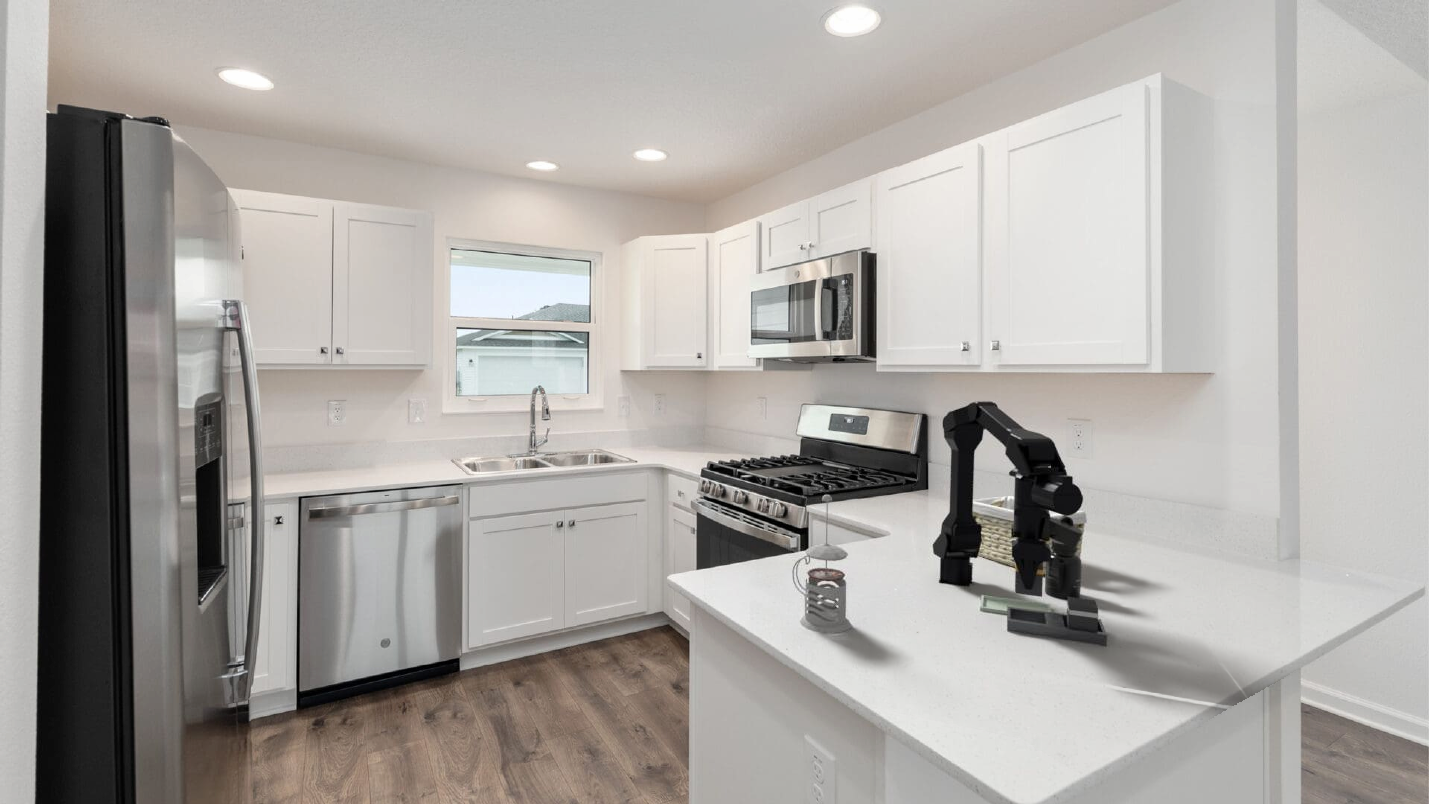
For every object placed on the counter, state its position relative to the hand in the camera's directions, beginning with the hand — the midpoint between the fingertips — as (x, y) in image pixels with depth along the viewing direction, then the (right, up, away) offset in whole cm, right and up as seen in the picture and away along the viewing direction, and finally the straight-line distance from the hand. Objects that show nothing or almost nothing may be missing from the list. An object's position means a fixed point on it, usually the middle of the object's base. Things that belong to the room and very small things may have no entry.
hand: (1028, 585), depth 124 cm
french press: (-39, -8, +3) cm, 40 cm away
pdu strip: (+4, -9, -2) cm, 9 cm away
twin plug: (+8, -8, -3) cm, 12 cm away
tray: (+2, -8, +9) cm, 12 cm away
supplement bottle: (+16, -8, +18) cm, 26 cm away
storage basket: (+20, -7, +45) cm, 49 cm away
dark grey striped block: (0, -1, 0) cm, 1 cm away
